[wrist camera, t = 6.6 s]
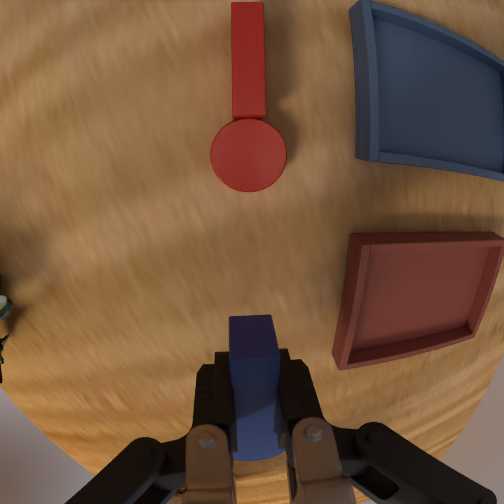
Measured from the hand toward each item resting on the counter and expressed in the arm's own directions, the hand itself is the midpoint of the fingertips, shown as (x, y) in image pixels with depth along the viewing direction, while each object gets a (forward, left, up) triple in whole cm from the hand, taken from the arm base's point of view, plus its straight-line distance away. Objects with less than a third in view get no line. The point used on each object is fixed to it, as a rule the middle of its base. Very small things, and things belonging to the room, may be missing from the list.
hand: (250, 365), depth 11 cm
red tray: (+14, -2, -8) cm, 16 cm away
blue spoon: (0, -3, 0) cm, 3 cm away
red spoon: (0, +11, -8) cm, 13 cm away
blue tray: (+14, +13, -8) cm, 21 cm away
